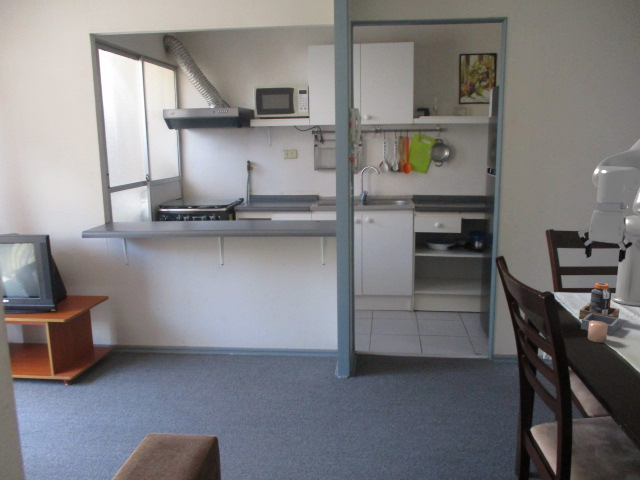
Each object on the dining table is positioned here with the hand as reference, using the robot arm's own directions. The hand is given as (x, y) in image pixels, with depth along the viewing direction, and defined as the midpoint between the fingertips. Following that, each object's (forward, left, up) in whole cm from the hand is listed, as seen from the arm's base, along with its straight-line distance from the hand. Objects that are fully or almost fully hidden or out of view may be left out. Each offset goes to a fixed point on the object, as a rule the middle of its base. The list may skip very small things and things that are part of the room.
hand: (604, 259), depth 177 cm
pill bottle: (0, 0, -20) cm, 20 cm away
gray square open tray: (+10, +3, -20) cm, 23 cm away
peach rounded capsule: (+20, +5, -20) cm, 29 cm away
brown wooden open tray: (0, 0, -20) cm, 20 cm away
